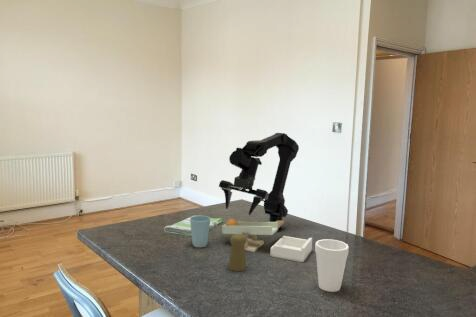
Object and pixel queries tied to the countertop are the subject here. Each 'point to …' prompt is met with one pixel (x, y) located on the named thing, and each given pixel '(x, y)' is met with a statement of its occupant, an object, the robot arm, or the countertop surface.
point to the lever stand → (252, 242)
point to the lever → (253, 228)
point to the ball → (231, 222)
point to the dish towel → (189, 226)
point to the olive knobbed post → (237, 253)
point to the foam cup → (330, 263)
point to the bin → (292, 248)
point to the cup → (200, 230)
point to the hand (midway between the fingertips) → (237, 211)
